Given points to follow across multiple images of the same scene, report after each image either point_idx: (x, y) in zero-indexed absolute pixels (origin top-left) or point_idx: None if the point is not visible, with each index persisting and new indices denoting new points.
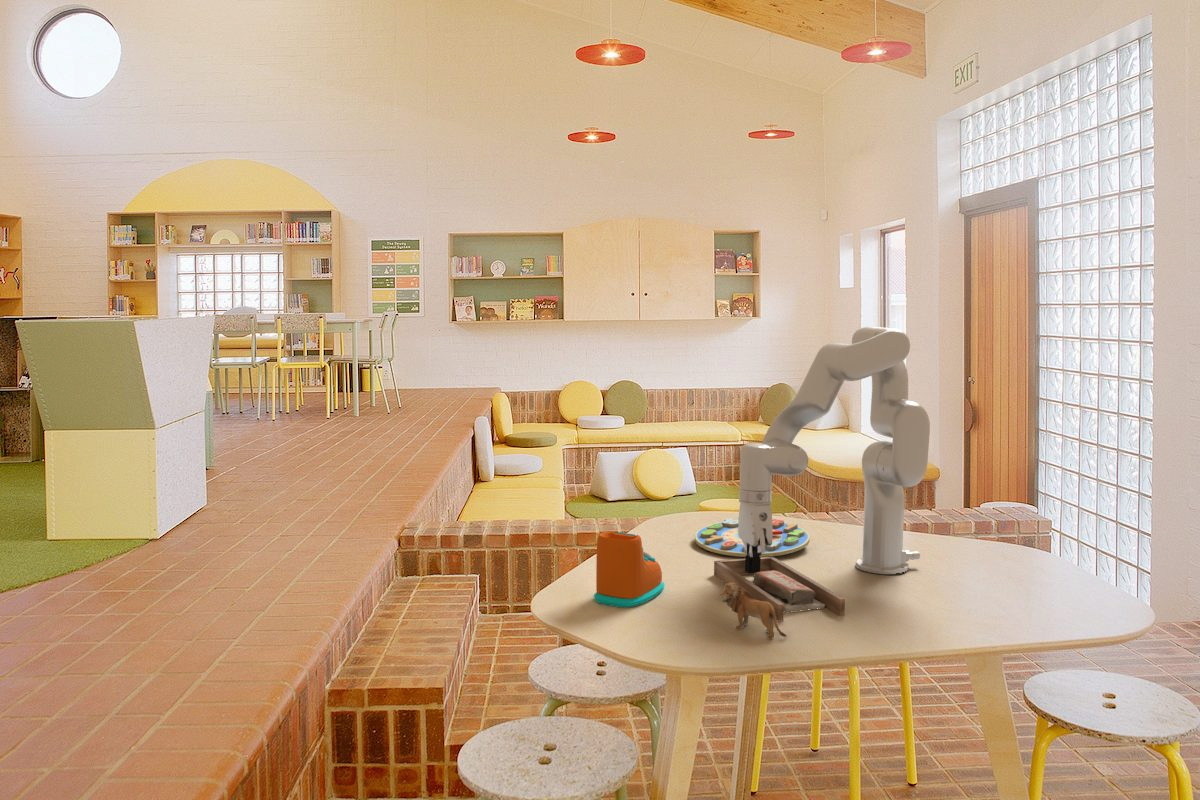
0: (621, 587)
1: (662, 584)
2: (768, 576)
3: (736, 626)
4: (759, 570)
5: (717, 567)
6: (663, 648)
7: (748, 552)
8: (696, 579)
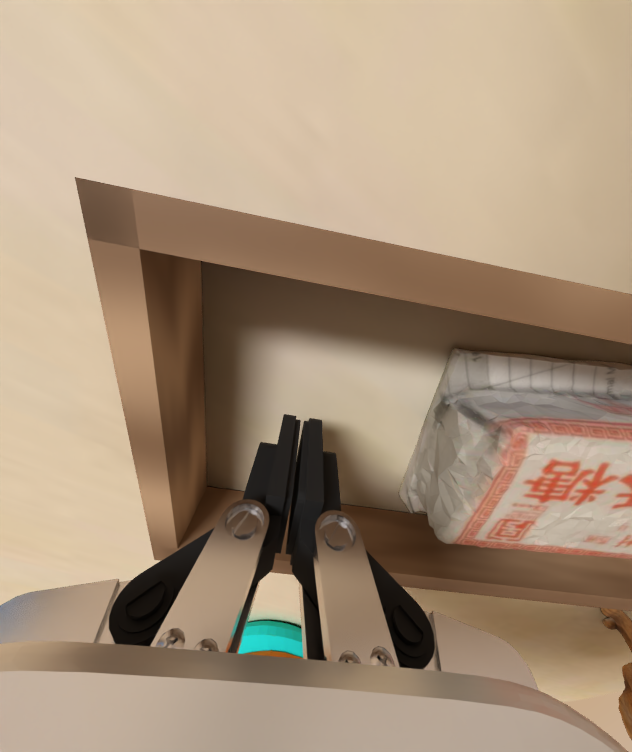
0: None
1: (293, 646)
2: (554, 540)
3: (609, 628)
4: (320, 427)
5: None
6: (552, 688)
7: (260, 576)
8: None
